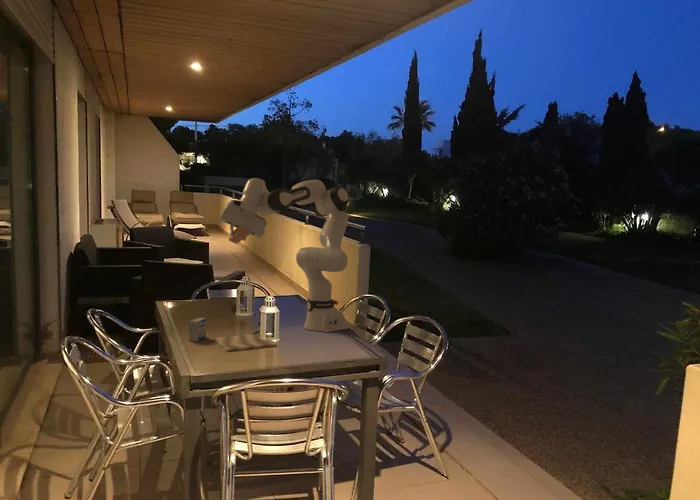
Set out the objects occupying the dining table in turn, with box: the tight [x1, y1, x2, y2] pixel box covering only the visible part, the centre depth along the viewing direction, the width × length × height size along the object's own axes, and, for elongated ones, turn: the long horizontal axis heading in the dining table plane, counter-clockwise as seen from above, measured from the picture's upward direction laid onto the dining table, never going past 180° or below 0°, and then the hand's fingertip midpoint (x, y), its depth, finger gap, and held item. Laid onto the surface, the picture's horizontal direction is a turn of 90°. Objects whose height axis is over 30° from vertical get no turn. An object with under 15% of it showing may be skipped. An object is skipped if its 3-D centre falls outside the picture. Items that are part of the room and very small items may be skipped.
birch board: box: [213, 333, 278, 353], centre depth 243 cm, size 22×18×1 cm
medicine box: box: [188, 317, 207, 342], centre depth 245 cm, size 8×4×9 cm, turn 168°
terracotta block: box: [228, 226, 248, 245], centre depth 246 cm, size 4×4×10 cm
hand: (237, 237), depth 244 cm, fingers closed on terracotta block, 4 cm apart
